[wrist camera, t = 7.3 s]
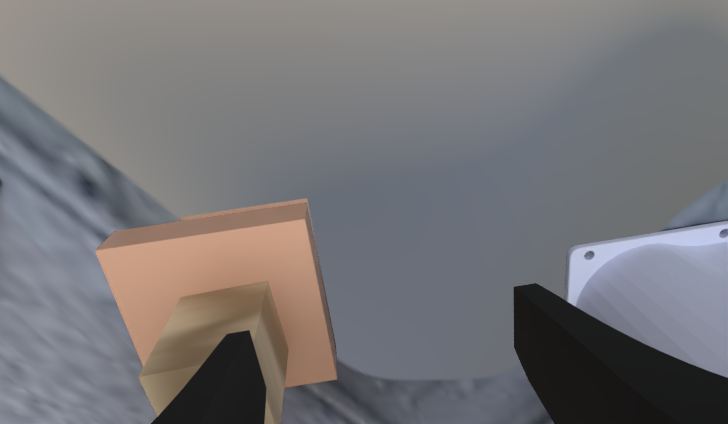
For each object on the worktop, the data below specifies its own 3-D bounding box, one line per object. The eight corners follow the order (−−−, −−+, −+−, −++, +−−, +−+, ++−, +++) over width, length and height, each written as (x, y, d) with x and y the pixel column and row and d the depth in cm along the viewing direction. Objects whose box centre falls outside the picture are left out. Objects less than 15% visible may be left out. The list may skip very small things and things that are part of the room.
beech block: (267, 280, 20) (251, 355, 16) (288, 350, 22) (279, 436, 17) (180, 297, 20) (138, 377, 16) (207, 365, 22) (176, 456, 17)
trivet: (307, 198, 22) (304, 219, 19) (336, 346, 25) (337, 379, 23) (119, 226, 21) (94, 250, 19) (175, 372, 25) (160, 407, 23)
